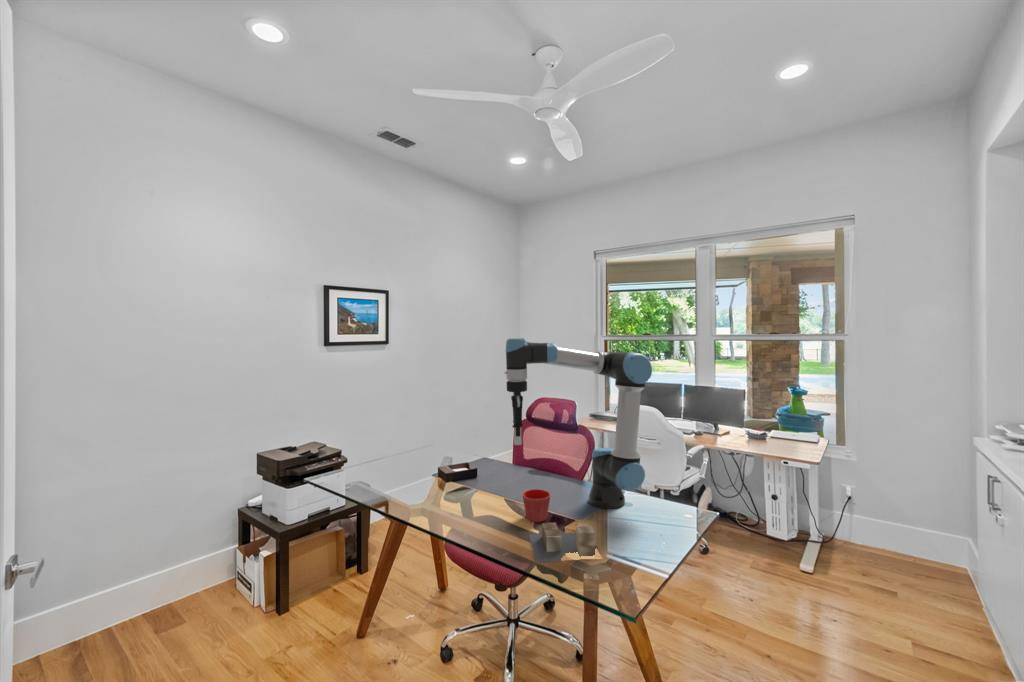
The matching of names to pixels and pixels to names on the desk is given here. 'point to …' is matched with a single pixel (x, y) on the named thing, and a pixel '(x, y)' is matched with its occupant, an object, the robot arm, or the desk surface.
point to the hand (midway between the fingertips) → (517, 444)
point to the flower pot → (536, 504)
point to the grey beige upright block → (585, 541)
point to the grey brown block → (551, 537)
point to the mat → (545, 556)
